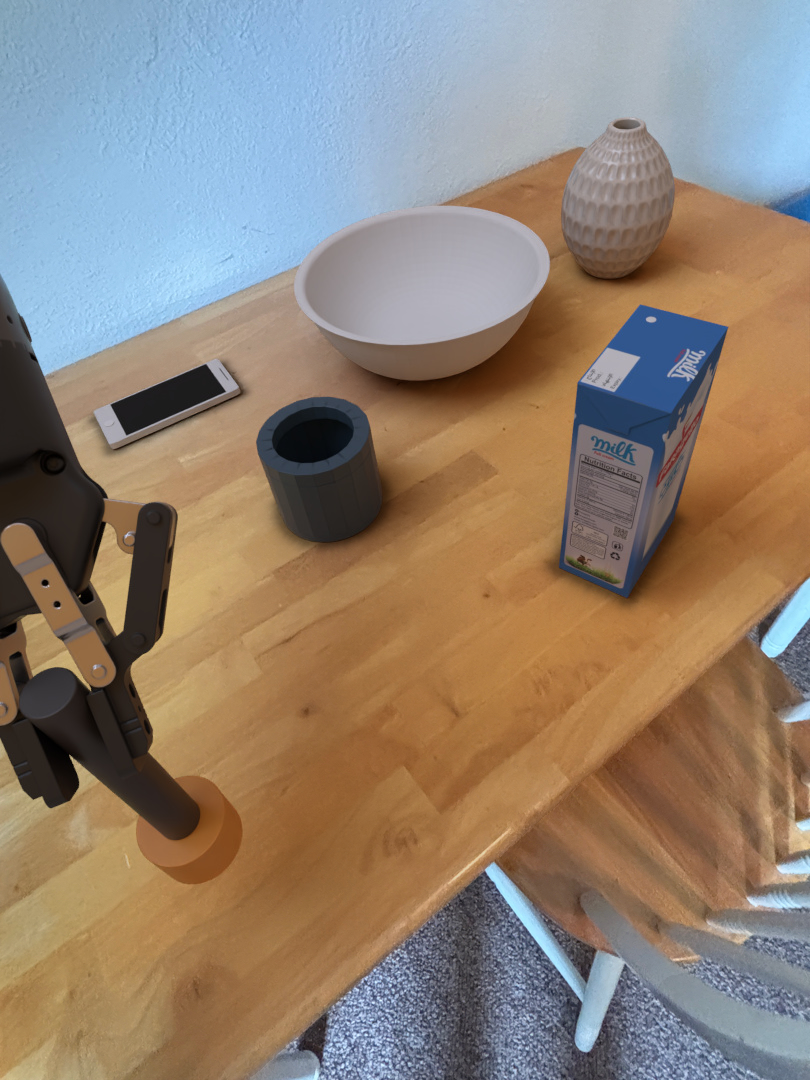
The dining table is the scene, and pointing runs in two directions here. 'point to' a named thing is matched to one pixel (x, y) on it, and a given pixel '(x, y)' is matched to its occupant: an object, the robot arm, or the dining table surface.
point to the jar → (321, 468)
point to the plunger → (140, 785)
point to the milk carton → (635, 443)
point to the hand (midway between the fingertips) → (100, 781)
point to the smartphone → (165, 403)
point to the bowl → (423, 288)
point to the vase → (618, 200)
